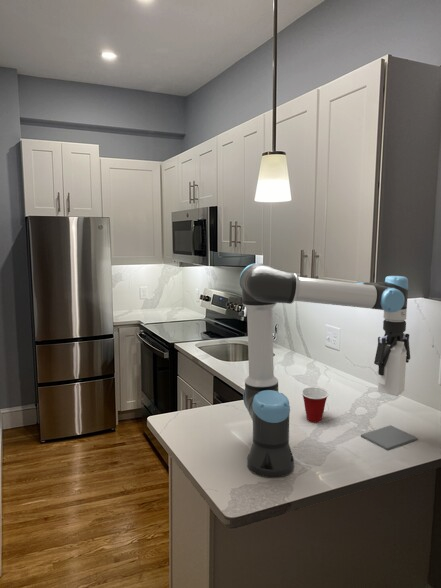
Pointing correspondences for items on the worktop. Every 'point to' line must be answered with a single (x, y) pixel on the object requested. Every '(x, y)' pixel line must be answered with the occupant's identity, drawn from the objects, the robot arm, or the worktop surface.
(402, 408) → the worktop surface
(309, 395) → the plastic cup
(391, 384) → the milk carton
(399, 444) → the gray mat
